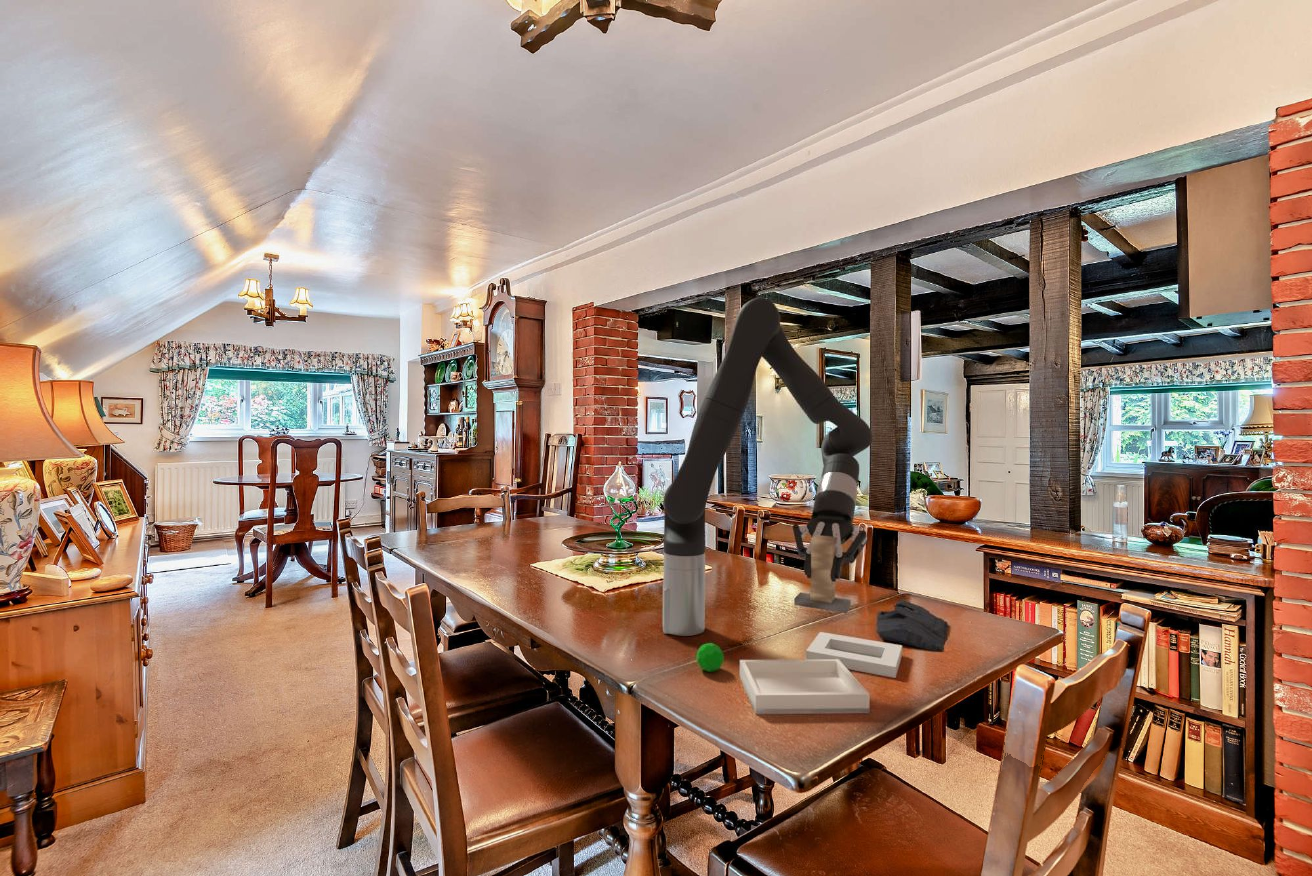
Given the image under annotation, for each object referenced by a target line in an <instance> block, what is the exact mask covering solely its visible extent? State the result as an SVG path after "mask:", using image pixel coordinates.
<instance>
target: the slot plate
mask: <svg viewBox="0 0 1312 876" xmlns="http://www.w3.org/2000/svg"><path fill="white" fill-rule="evenodd" d="M902 657H903V645H901V644H897V643H896V644H894V643H890V642H884V641H877V640H873V639H872V640H870V639H865V638H859V637H853V636H848V635H841V634H835V633H829V632H823V631H820V632H819V633H818V634H817V635H816V637H815V638H814V640H812V642H811V643H810V644H809V646H808V647H807V648H806V650H805V659H839V660H840V661H841V662H842V664H843V665H844V666H845V667H846V668H847V669H848V670H849V671H850V670H852V671H856V672H863V673H867V674H871V675H878V676H883V677H888V678H893V679H896V678H897V675H898V671H899V667H900V664H901V660H902Z"/></svg>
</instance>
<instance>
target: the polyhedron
mask: <svg viewBox="0 0 1312 876" xmlns="http://www.w3.org/2000/svg"><path fill="white" fill-rule="evenodd" d="M724 655H725V654H724V653H723V651H722V650H721V648H720V646H718V645H717V644H715V643H712V642H709V643H708V642H707V643H704V644H702V645H700V647H699V648H698V650H697V652H696V658H695V659H696V662H697V663H698V666H699V667H700V669H702V670H704V671H705V672H707V673H712V672H716V671H717V670H720V668H721V667H722V666H723V663H724V660H725V659H724V657H725V656H724Z"/></svg>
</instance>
